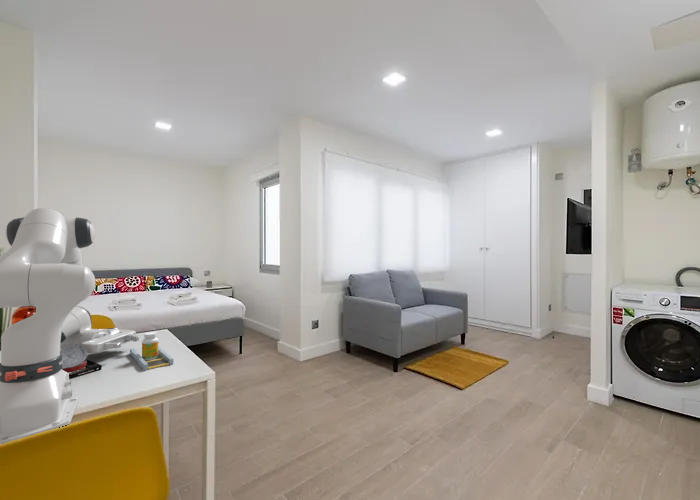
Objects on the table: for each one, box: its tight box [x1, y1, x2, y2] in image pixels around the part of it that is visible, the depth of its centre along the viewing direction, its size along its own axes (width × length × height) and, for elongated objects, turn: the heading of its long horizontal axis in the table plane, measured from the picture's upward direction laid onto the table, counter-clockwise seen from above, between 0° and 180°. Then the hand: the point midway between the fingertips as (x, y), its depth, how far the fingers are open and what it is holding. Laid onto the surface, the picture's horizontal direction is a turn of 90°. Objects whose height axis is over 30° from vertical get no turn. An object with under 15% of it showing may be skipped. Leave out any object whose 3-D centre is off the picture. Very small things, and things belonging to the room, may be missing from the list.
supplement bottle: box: [141, 331, 159, 361], centre depth 127 cm, size 5×5×10 cm
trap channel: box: [129, 345, 174, 371], centre depth 127 cm, size 24×9×2 cm, turn 44°
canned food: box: [60, 344, 89, 372], centre depth 113 cm, size 11×10×10 cm
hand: (128, 342), depth 128 cm, fingers open, 8 cm apart
